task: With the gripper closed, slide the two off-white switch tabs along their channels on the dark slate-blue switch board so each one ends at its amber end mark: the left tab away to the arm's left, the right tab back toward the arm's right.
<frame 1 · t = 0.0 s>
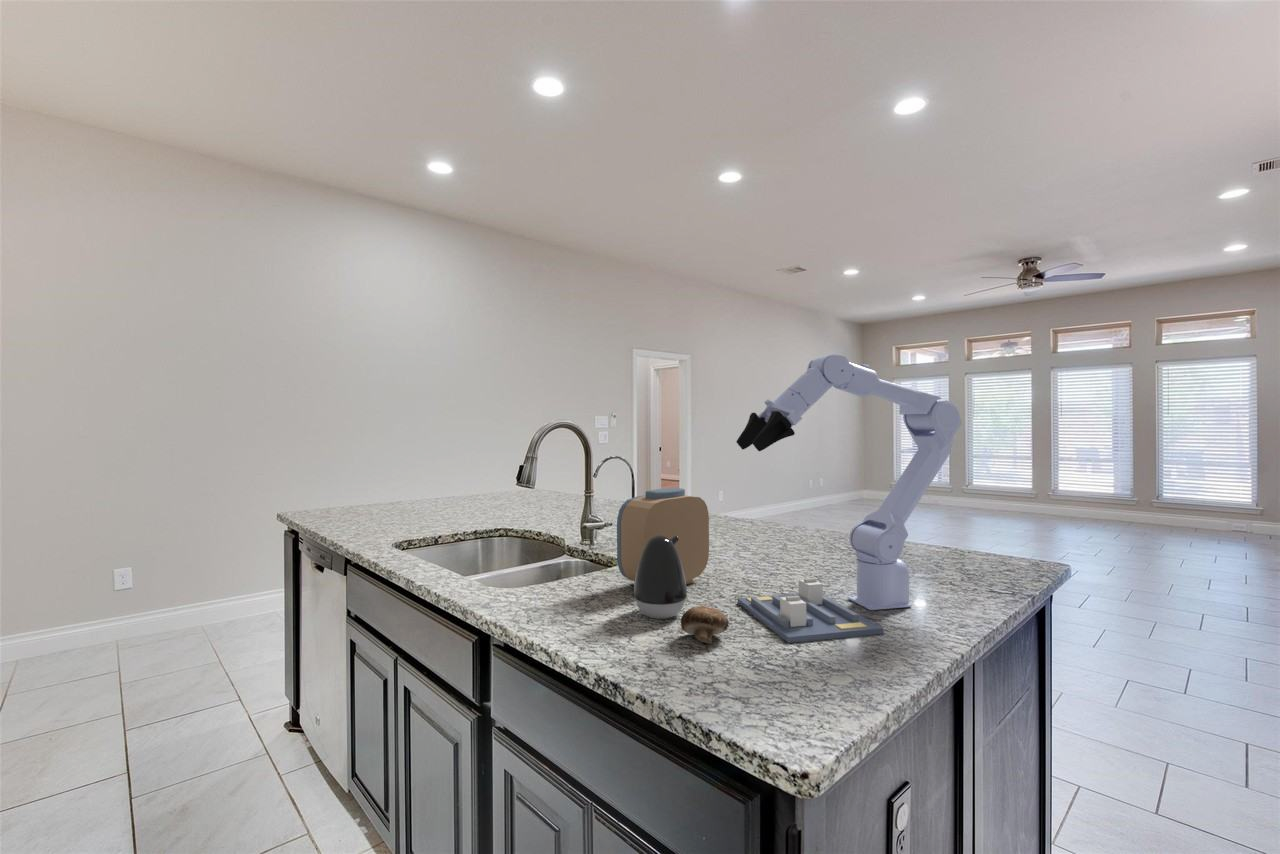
hand: (747, 446, 110), 32 cm above the worktop, fingers open, 7 cm apart
tab b: (793, 609, 103), point 3 cm above the worktop, slide at 0.0 cm
switch board: (804, 617, 109), on the worktop
mushroom: (704, 640, 98), on the worktop
tab a: (810, 590, 115), point 3 cm above the worktop, slide at 0.0 cm
alarm clock: (663, 584, 132), on the worktop
pump dispenser: (660, 615, 111), on the worktop
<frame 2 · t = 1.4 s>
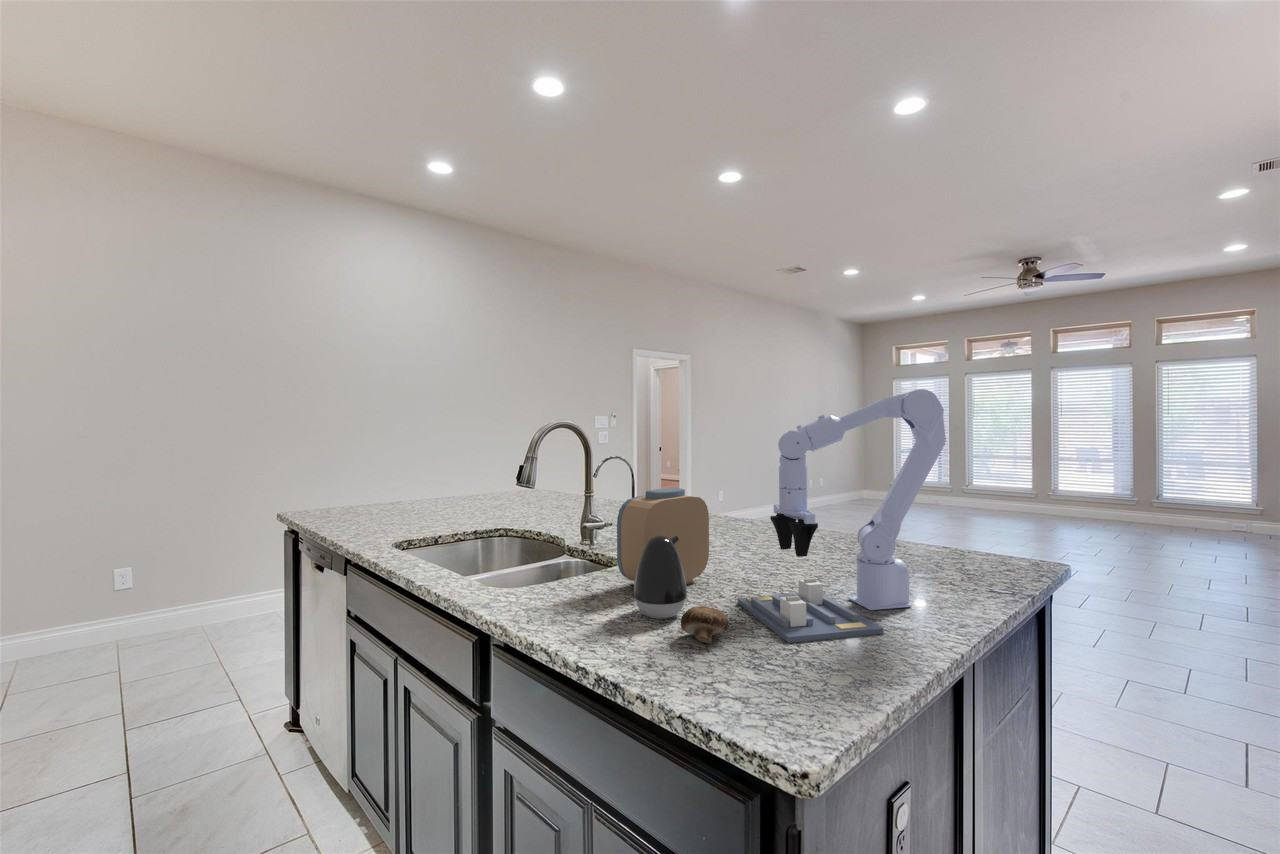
hand: (793, 552, 121), 9 cm above the worktop, fingers open, 6 cm apart
nothing on the worktop moved.
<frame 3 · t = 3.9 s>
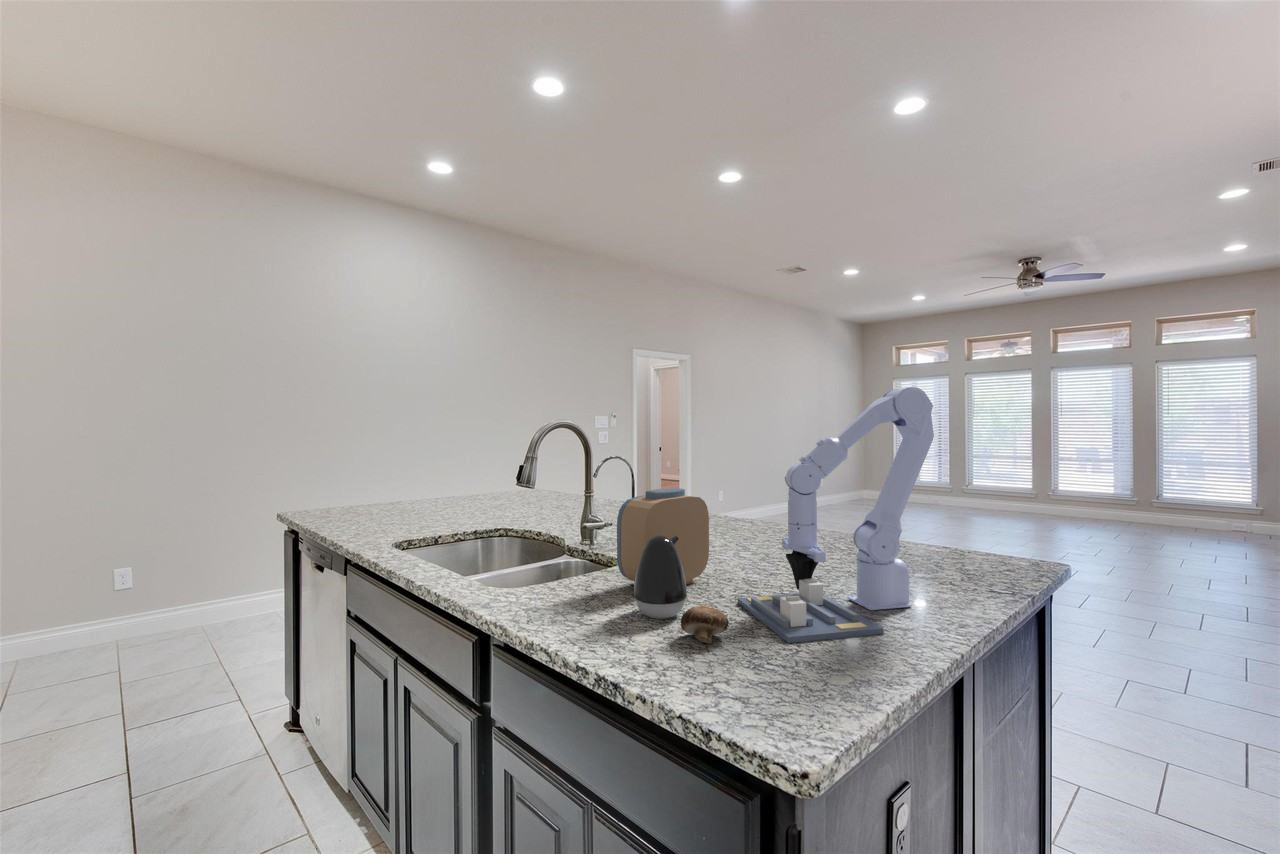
hand: (802, 589, 118), 3 cm above the worktop, fingers closed
tab a: (810, 590, 114), point 3 cm above the worktop, slide at 0.2 cm, touching gripper
everything else where it was.
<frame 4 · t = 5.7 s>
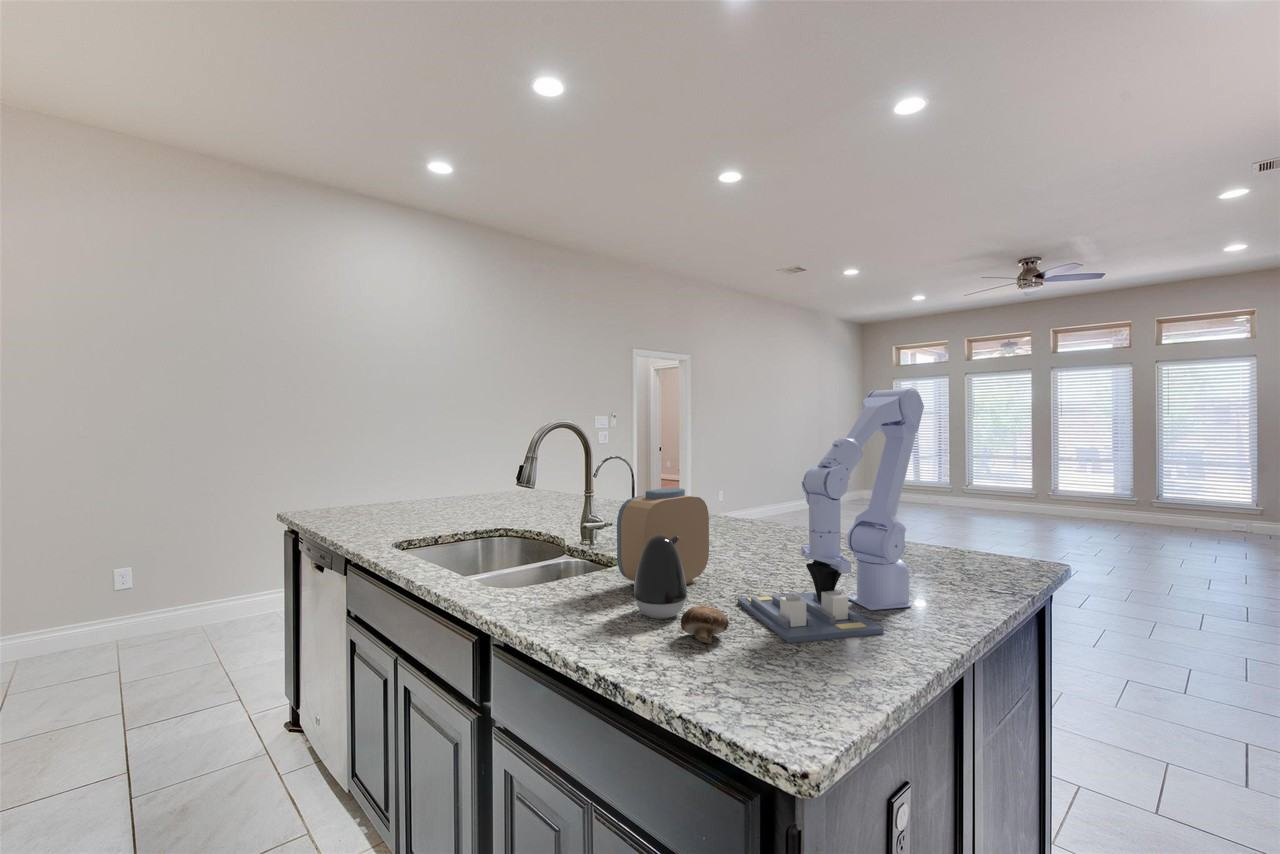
hand: (824, 601, 109), 3 cm above the worktop, fingers closed
tab a: (834, 603, 106), point 3 cm above the worktop, slide at 8.7 cm, touching gripper
everything else where it was.
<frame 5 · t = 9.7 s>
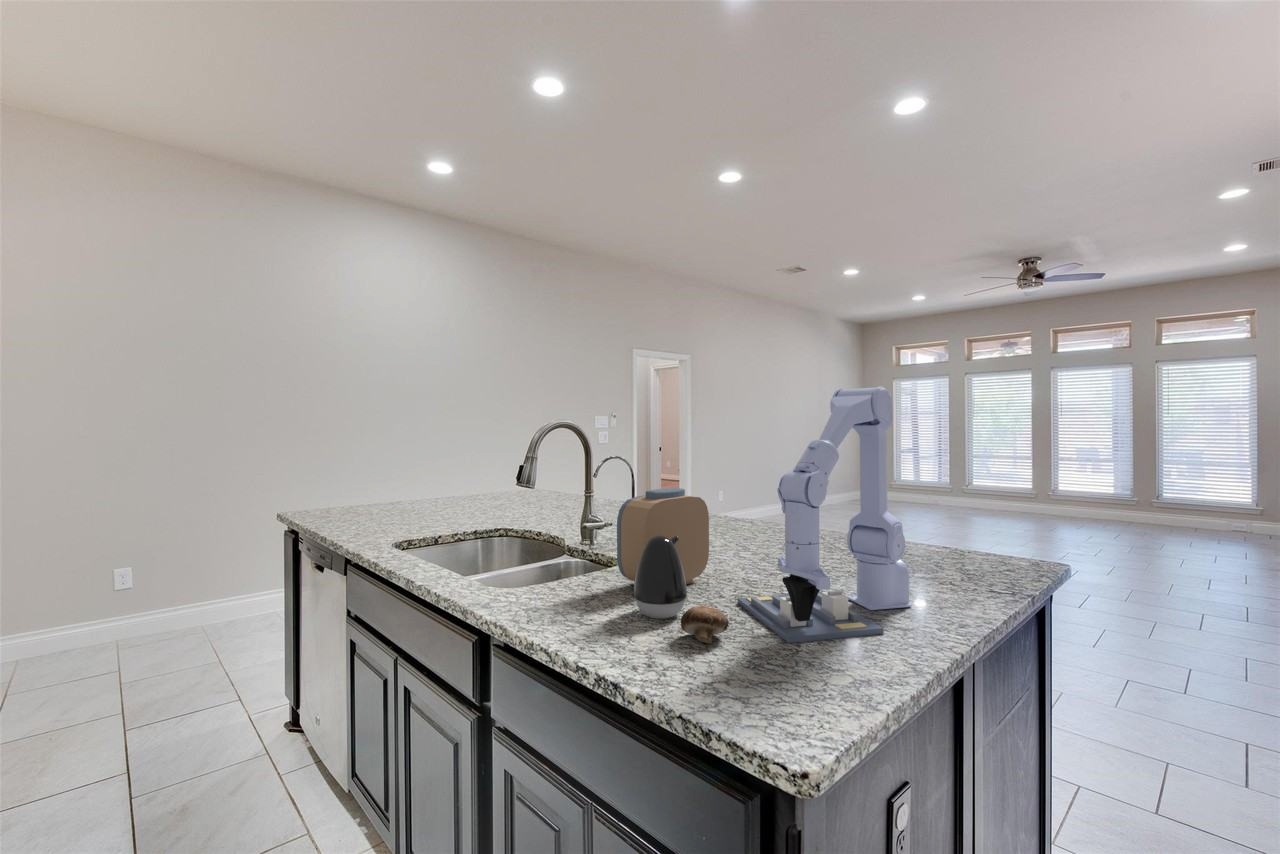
hand: (802, 619, 100), 3 cm above the worktop, fingers closed
tab b: (792, 609, 103), point 3 cm above the worktop, slide at 0.0 cm, touching gripper
tab a: (834, 603, 106), point 3 cm above the worktop, slide at 8.8 cm
everything else where it was.
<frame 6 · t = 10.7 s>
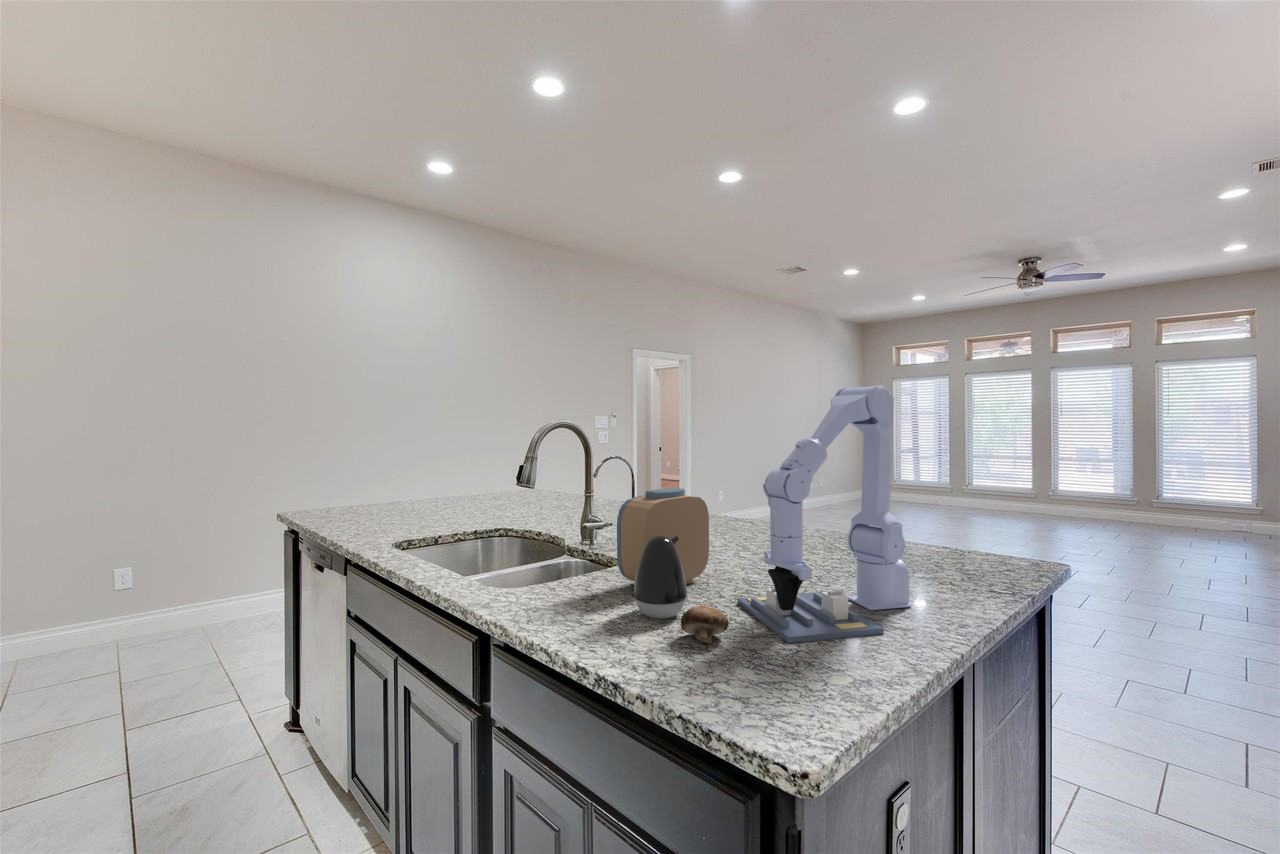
hand: (786, 609, 105), 3 cm above the worktop, fingers closed
tab b: (778, 599, 109), point 3 cm above the worktop, slide at 5.8 cm, touching gripper
everything else where it was.
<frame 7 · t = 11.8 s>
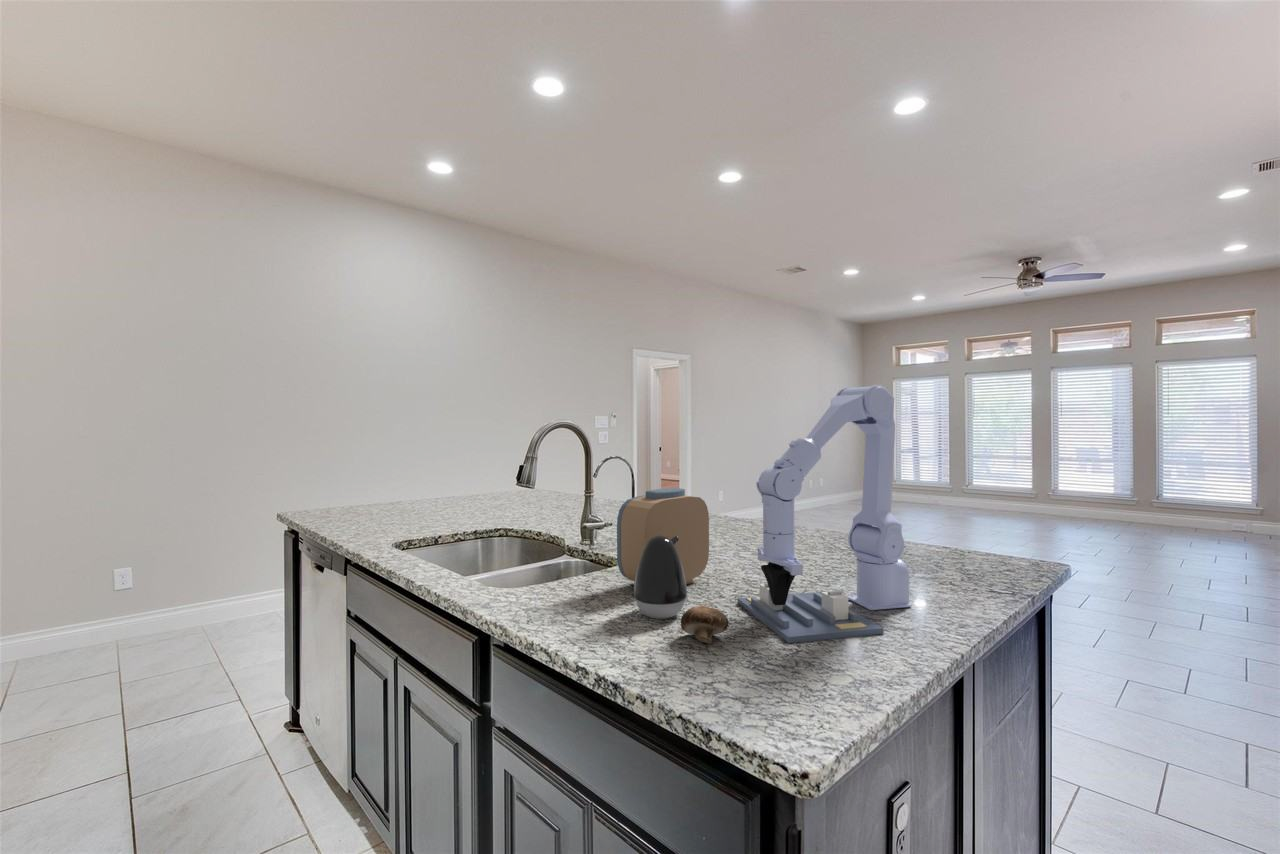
hand: (779, 604, 108), 3 cm above the worktop, fingers closed
tab b: (771, 595, 112), point 3 cm above the worktop, slide at 8.8 cm, touching gripper
everything else where it was.
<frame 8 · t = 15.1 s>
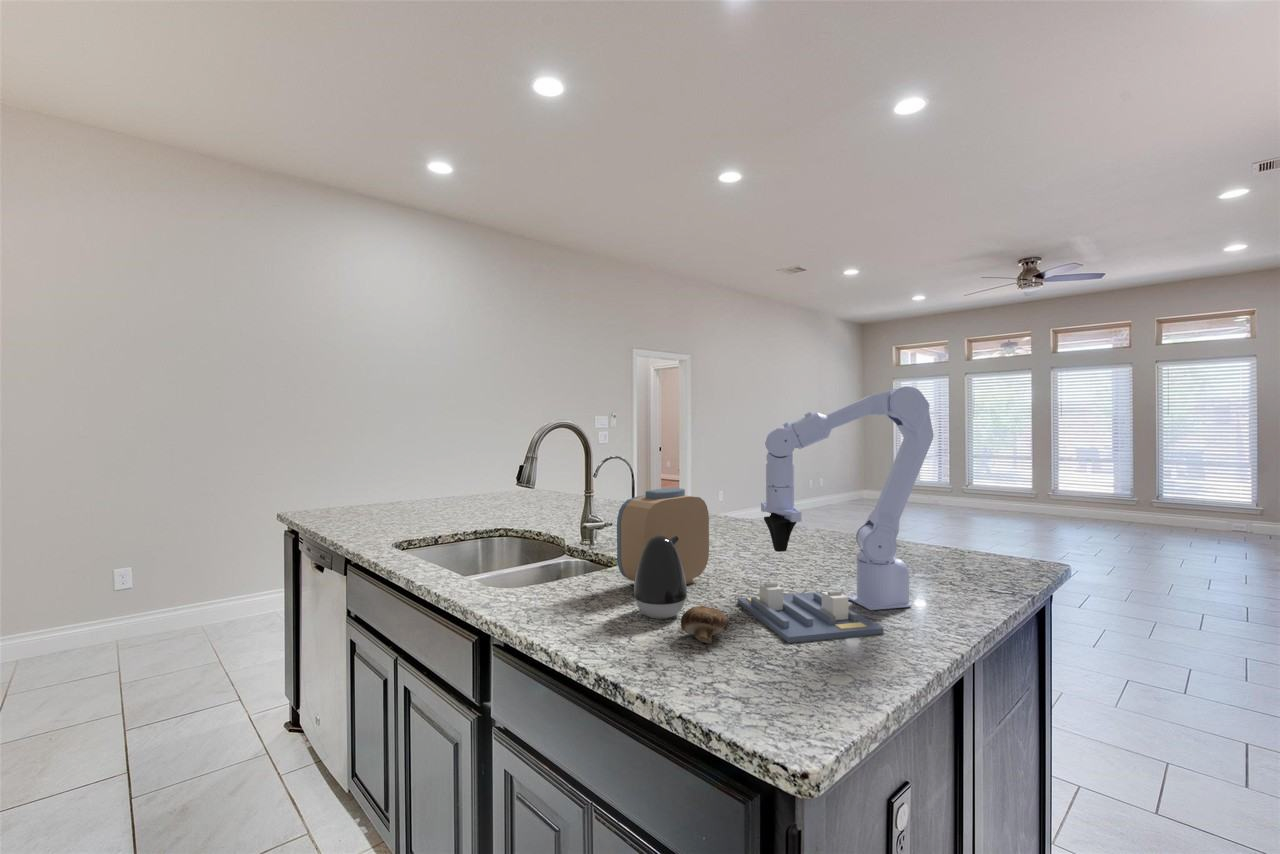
hand: (780, 550, 121), 10 cm above the worktop, fingers closed
tab b: (771, 595, 112), point 3 cm above the worktop, slide at 8.8 cm
everything else where it was.
at the end: tab a slide at 8.8 cm; tab b slide at 8.8 cm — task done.
